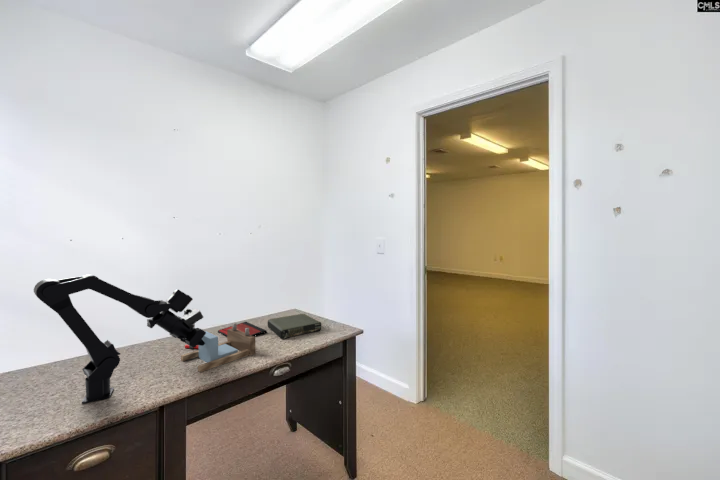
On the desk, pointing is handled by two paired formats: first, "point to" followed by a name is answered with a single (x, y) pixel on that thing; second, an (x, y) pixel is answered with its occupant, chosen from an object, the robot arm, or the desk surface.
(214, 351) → the block
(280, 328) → the dark green electronics case
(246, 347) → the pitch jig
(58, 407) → the desk surface
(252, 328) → the binder
